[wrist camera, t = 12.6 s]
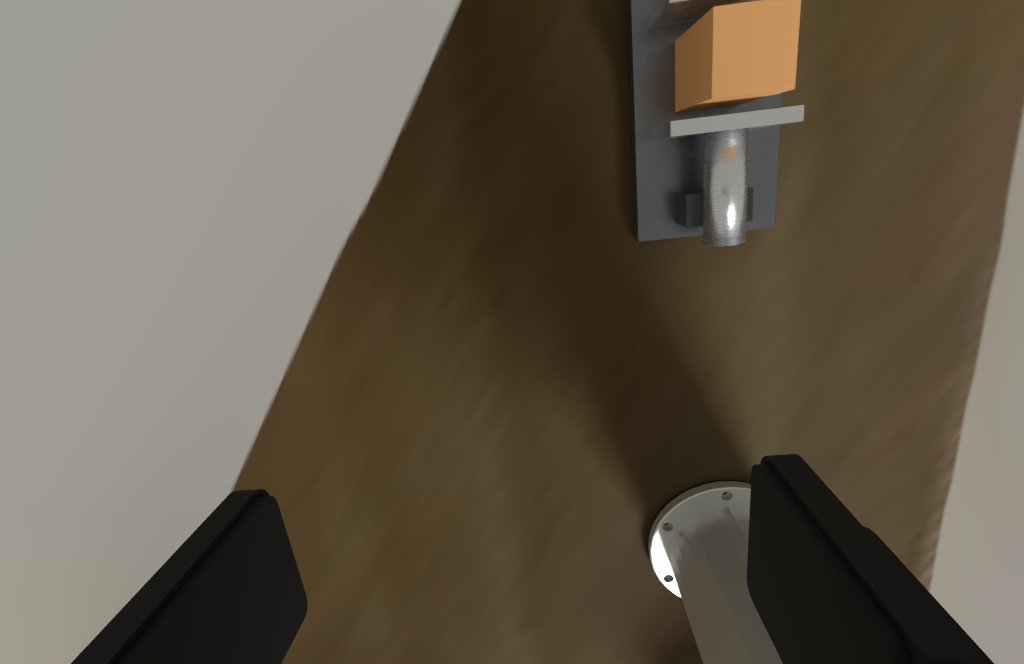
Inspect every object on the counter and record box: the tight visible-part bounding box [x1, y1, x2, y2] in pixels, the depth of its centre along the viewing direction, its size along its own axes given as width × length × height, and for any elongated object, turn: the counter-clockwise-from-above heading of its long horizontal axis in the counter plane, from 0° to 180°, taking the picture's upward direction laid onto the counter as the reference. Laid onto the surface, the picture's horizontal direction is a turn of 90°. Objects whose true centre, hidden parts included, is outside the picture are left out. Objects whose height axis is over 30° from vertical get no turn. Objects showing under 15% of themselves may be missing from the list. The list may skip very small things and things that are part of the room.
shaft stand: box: [627, 0, 804, 246], centre depth 29 cm, size 20×9×6 cm, turn 6°
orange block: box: [675, 0, 801, 112], centre depth 27 cm, size 4×4×7 cm
